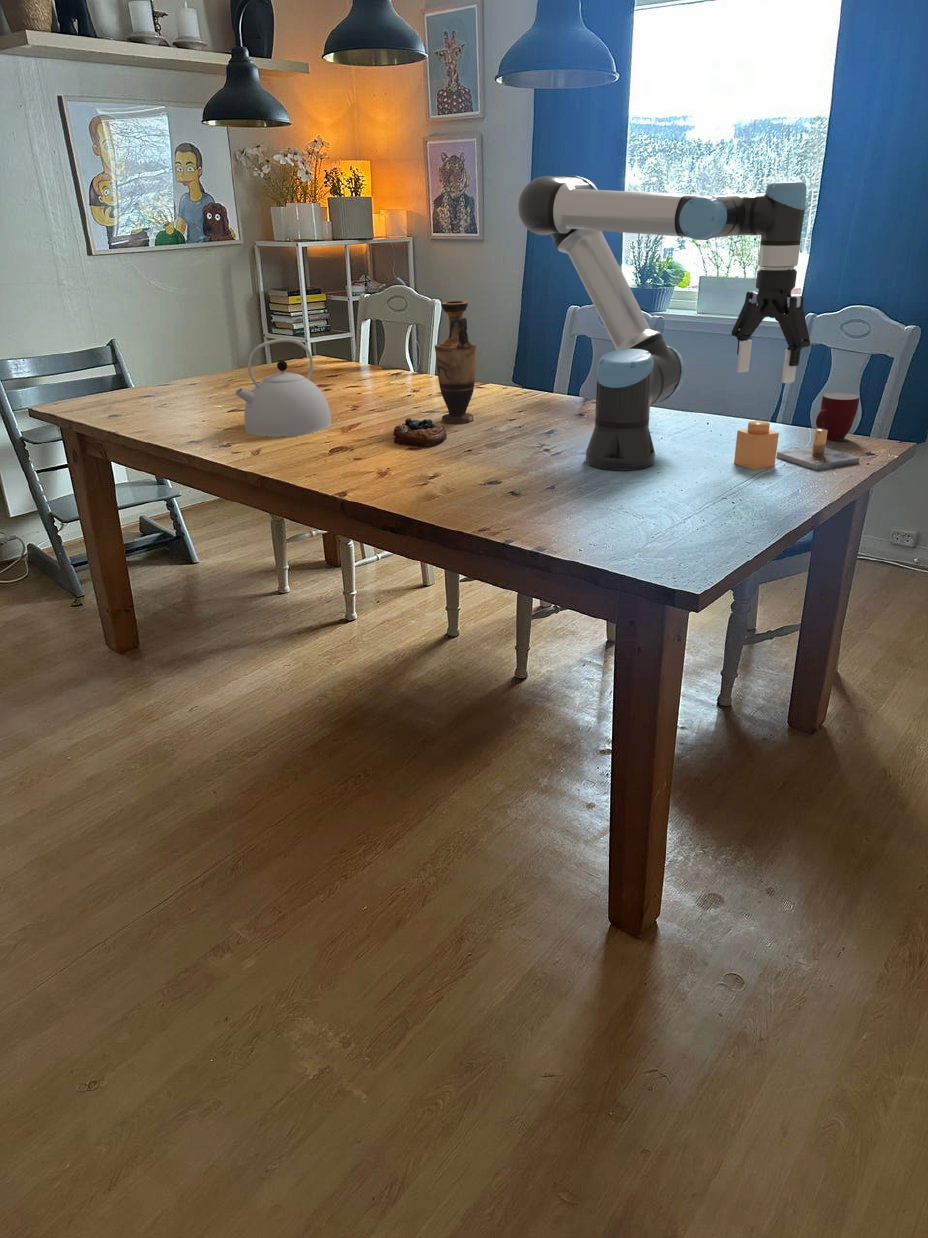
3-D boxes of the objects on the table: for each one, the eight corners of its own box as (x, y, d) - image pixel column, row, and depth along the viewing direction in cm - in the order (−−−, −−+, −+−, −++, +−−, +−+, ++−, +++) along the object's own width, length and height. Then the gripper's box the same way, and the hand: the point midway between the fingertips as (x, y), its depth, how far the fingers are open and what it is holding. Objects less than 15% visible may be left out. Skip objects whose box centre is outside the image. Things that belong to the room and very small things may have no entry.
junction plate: (816, 470, 189) (820, 439, 186) (776, 457, 199) (780, 427, 196) (858, 463, 193) (863, 432, 191) (817, 450, 203) (822, 421, 200)
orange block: (752, 469, 191) (757, 427, 187) (733, 462, 196) (738, 421, 192) (774, 465, 193) (779, 424, 189) (755, 459, 198) (760, 418, 194)
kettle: (258, 443, 222) (246, 349, 212) (223, 427, 239) (211, 339, 229) (347, 427, 235) (339, 338, 225) (308, 413, 252) (300, 329, 242)
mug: (832, 446, 206) (839, 402, 202) (802, 439, 212) (808, 397, 208) (859, 438, 212) (866, 396, 207) (829, 432, 218) (835, 391, 213)
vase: (431, 418, 242) (427, 301, 229) (469, 414, 245) (466, 298, 232) (445, 426, 233) (441, 305, 220) (484, 422, 236) (482, 302, 223)
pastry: (413, 434, 227) (412, 411, 224) (453, 439, 221) (452, 415, 219) (388, 444, 218) (386, 420, 216) (429, 450, 213) (428, 425, 210)
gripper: (839, 270, 169) (823, 384, 178) (749, 263, 189) (738, 366, 198) (809, 272, 166) (793, 388, 175) (721, 265, 186) (711, 369, 195)
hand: (764, 377), depth 187 cm, fingers open, 13 cm apart
